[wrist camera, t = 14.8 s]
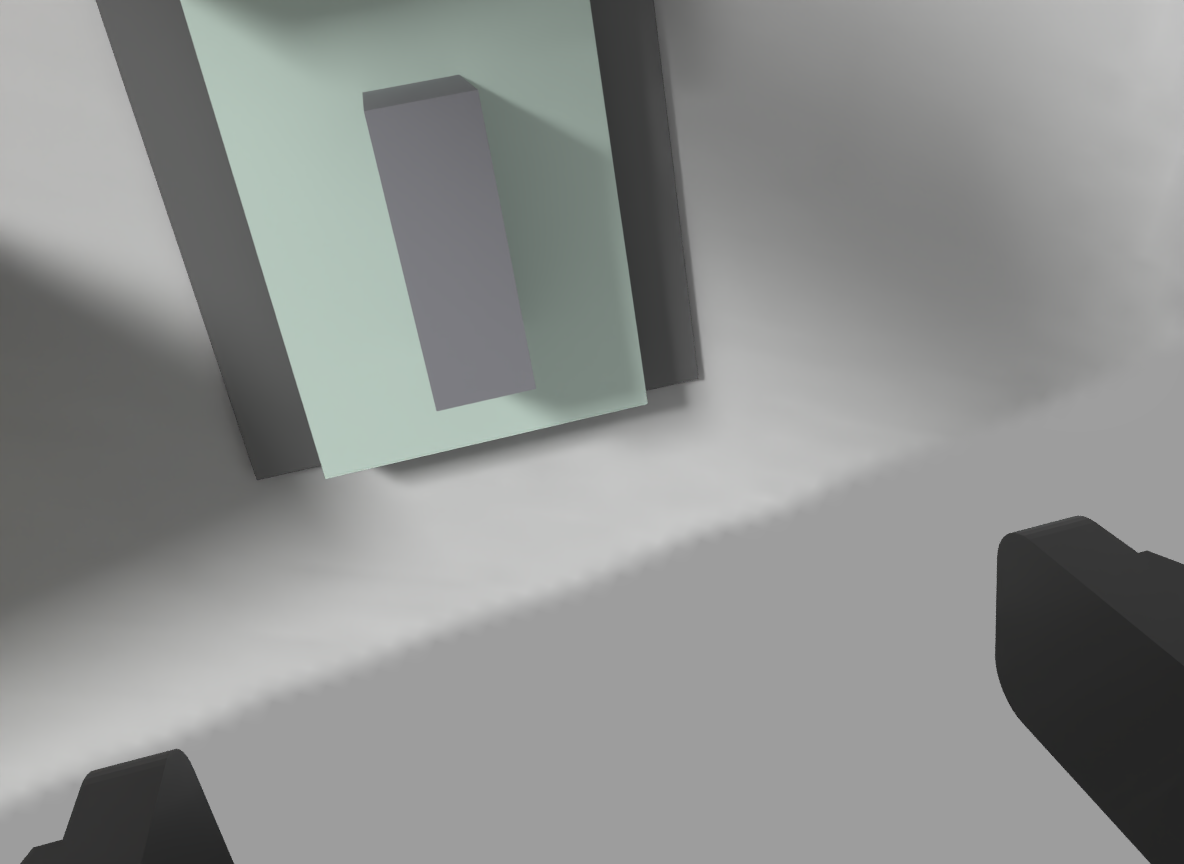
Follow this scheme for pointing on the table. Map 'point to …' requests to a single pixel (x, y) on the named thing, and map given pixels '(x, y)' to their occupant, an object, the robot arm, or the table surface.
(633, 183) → the mat
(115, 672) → the table surface
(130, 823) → the robot arm
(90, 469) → the table surface
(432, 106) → the lid
